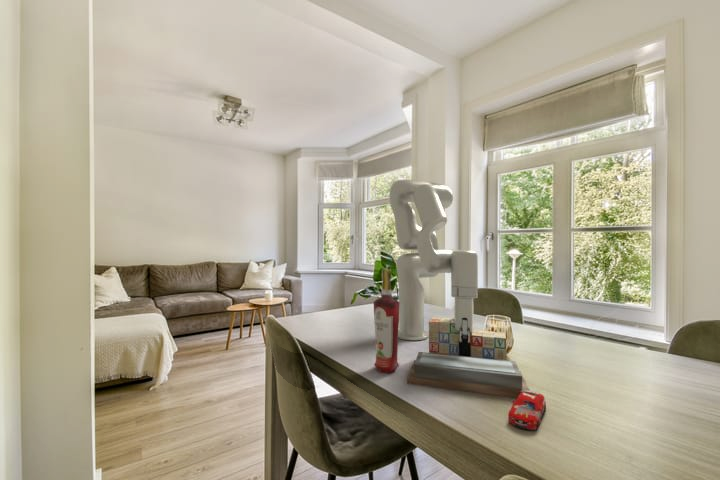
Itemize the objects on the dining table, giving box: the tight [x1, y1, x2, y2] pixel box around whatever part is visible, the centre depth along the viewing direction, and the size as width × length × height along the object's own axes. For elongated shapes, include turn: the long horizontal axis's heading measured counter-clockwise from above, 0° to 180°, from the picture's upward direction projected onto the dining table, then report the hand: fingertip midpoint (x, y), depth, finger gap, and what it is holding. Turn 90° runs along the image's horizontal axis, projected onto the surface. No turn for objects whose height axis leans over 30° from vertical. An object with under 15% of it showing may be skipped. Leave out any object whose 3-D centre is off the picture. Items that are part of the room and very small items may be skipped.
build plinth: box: [406, 351, 531, 399], centre depth 83 cm, size 13×28×5 cm, turn 73°
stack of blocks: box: [428, 316, 507, 360], centre depth 96 cm, size 21×6×12 cm, turn 68°
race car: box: [507, 390, 547, 431], centre depth 66 cm, size 13×5×4 cm, turn 140°
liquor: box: [373, 268, 400, 374], centre depth 91 cm, size 7×7×28 cm
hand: (464, 351), depth 96 cm, fingers closed on stack of blocks, 6 cm apart
